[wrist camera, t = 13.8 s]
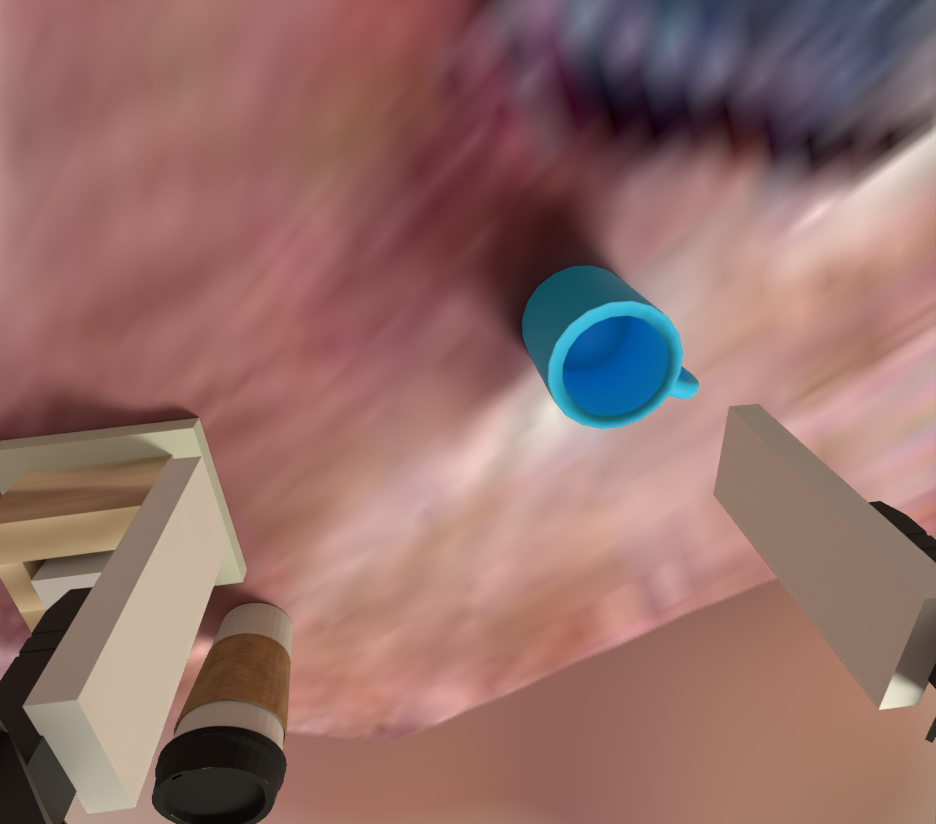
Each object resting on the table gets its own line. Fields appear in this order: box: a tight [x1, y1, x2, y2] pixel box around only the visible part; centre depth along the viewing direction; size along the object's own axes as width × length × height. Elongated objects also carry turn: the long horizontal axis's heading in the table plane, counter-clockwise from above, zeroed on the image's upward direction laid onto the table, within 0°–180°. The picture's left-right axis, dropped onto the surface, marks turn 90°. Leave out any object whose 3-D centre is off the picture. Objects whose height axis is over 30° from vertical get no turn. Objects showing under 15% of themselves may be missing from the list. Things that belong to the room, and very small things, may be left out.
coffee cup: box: [152, 603, 293, 824], centre depth 46 cm, size 8×8×15 cm
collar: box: [0, 455, 174, 632], centre depth 42 cm, size 10×10×6 cm
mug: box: [522, 265, 699, 429], centre depth 41 cm, size 12×8×8 cm
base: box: [0, 418, 247, 610], centre depth 43 cm, size 14×14×8 cm
